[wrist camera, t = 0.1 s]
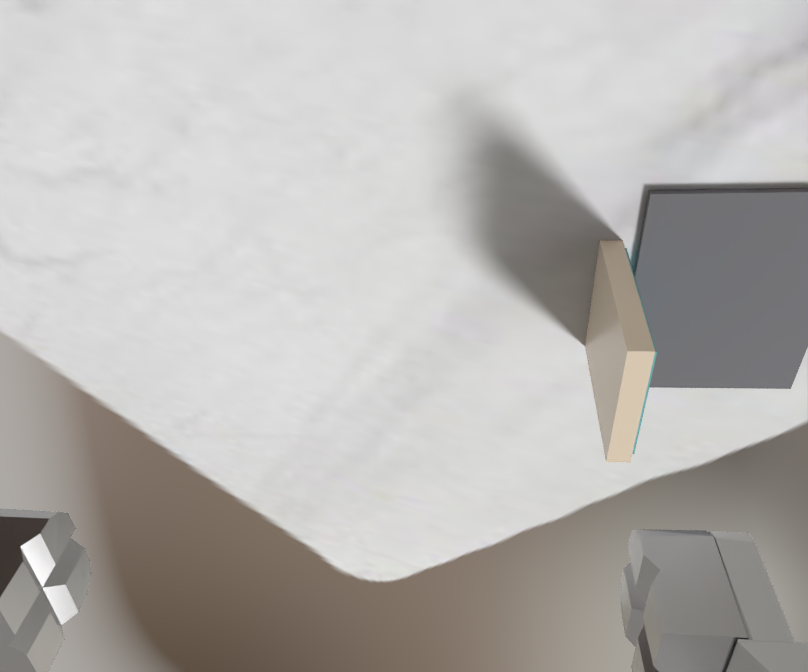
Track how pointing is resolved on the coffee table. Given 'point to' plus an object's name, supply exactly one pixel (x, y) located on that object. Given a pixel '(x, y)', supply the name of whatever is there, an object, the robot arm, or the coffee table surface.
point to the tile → (618, 351)
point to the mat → (725, 286)
